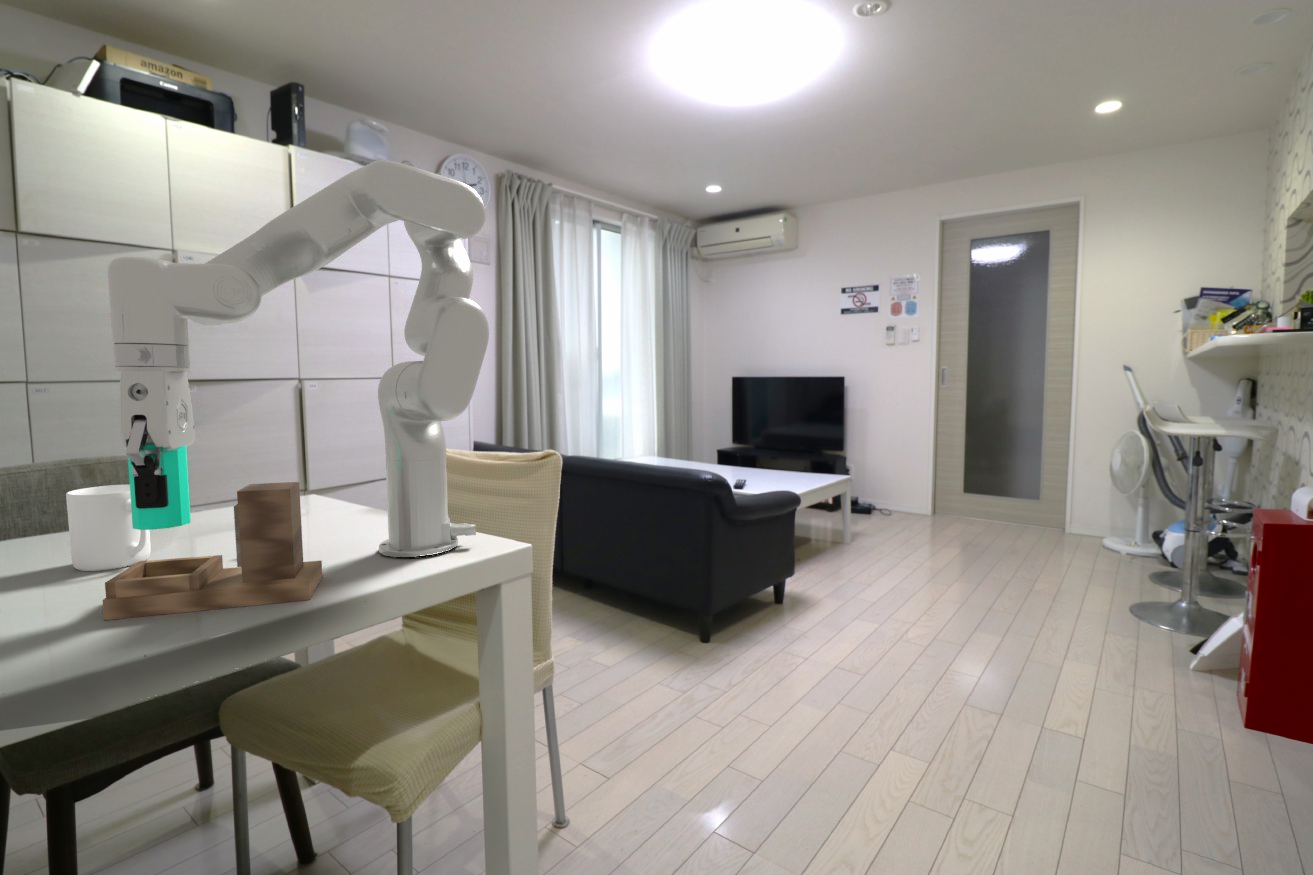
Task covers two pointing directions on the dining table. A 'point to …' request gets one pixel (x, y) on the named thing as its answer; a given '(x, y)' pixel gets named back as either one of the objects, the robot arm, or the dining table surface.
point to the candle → (177, 494)
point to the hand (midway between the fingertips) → (161, 501)
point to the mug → (104, 529)
